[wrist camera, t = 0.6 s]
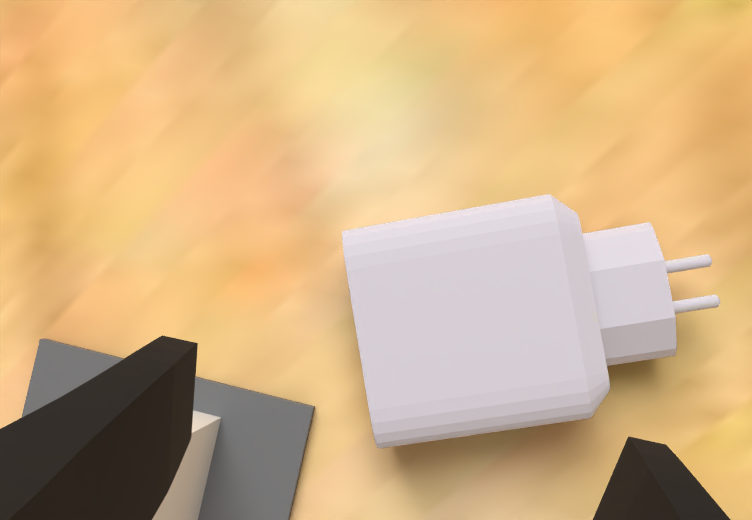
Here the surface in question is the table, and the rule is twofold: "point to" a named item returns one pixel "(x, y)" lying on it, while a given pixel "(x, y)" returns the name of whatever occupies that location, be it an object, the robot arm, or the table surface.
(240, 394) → the mat
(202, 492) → the tile
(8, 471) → the robot arm
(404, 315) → the charger
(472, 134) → the table surface
